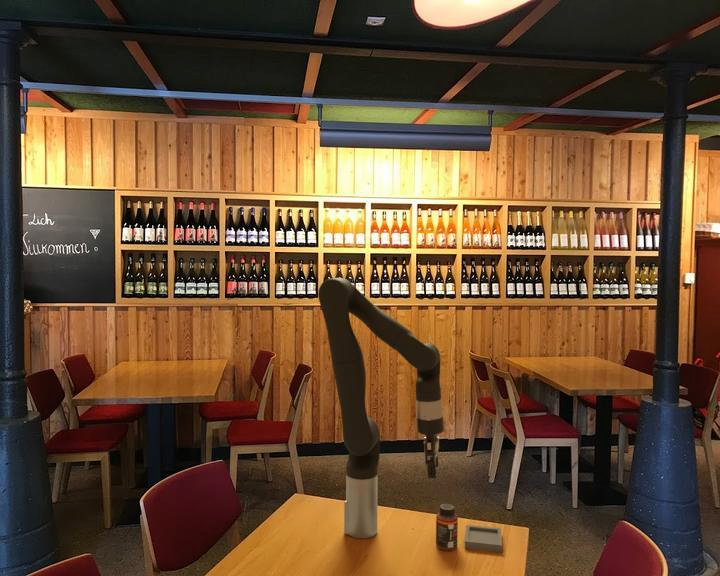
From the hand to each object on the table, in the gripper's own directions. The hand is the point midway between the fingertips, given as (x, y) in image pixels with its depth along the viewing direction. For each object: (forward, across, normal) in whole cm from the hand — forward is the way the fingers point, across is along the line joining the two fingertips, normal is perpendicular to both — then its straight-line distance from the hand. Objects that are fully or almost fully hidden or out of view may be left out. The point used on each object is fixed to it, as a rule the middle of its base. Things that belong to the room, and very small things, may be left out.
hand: (433, 472), depth 156 cm
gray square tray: (+21, -3, +12) cm, 25 cm away
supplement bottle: (+21, +1, +2) cm, 21 cm away
